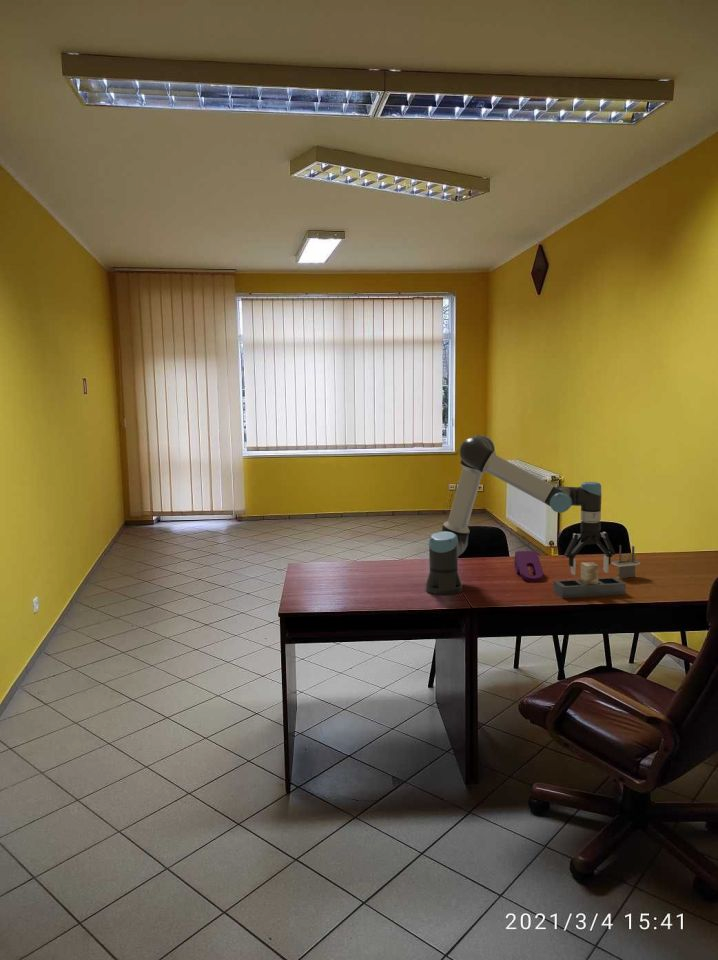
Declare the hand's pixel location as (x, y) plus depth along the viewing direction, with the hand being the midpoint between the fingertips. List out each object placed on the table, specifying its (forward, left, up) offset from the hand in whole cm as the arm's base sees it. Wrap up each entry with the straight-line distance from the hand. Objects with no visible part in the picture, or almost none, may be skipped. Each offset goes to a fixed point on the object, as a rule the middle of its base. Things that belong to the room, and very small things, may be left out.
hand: (589, 573), depth 264 cm
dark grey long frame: (0, 0, -8) cm, 8 cm away
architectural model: (+25, +18, -9) cm, 32 cm away
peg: (0, 0, -8) cm, 8 cm away
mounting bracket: (-15, +28, -9) cm, 32 cm away
